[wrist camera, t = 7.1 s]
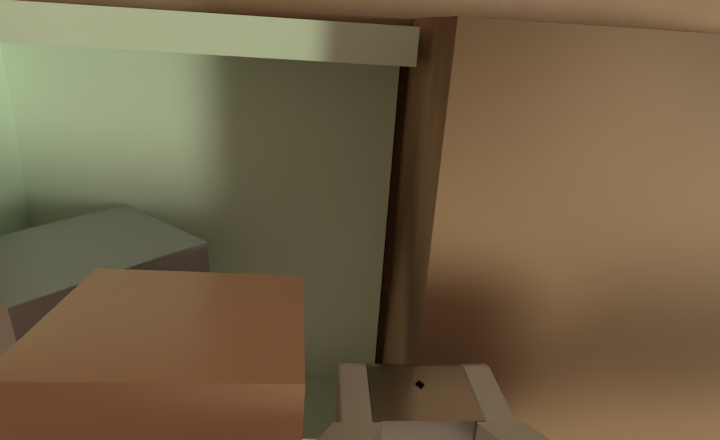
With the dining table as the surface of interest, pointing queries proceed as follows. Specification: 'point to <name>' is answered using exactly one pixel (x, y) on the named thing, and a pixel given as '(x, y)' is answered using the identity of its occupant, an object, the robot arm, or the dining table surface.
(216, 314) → the peach colored cube
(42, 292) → the matte grey cube
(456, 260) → the brown wooden block
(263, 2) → the dining table surface
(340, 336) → the tray
